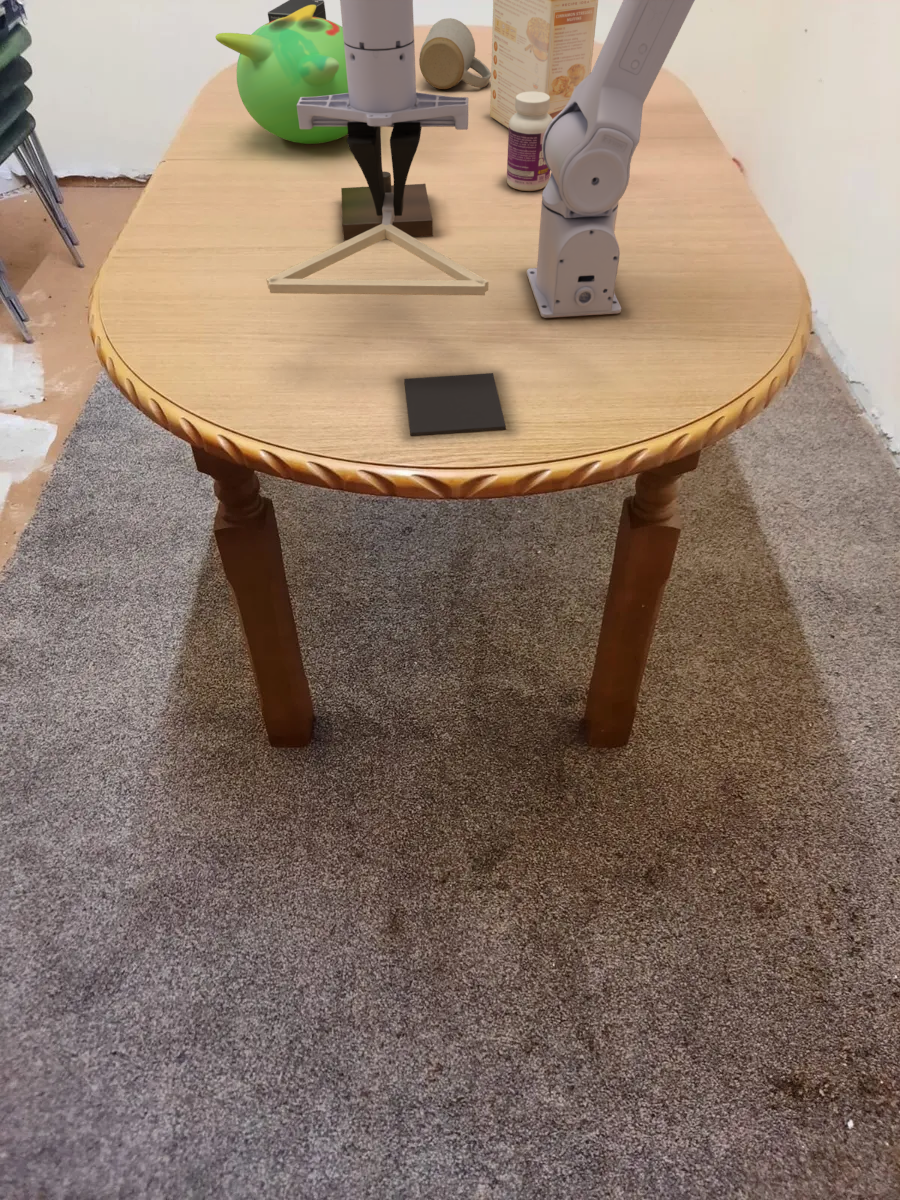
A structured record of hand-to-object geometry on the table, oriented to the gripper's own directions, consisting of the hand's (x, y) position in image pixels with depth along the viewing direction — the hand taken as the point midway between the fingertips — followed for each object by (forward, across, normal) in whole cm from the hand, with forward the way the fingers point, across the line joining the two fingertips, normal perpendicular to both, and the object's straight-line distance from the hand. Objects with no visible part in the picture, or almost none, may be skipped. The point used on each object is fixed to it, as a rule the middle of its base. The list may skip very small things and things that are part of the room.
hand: (389, 211), depth 77 cm
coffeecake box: (+9, +16, +48) cm, 51 cm away
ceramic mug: (+9, +4, +67) cm, 68 cm away
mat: (+9, +6, -18) cm, 21 cm away
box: (+9, -19, +65) cm, 68 cm away
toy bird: (+9, -15, +43) cm, 47 cm away
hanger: (+1, 0, -6) cm, 6 cm away
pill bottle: (+9, +14, +29) cm, 34 cm away
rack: (+9, -3, +19) cm, 21 cm away
